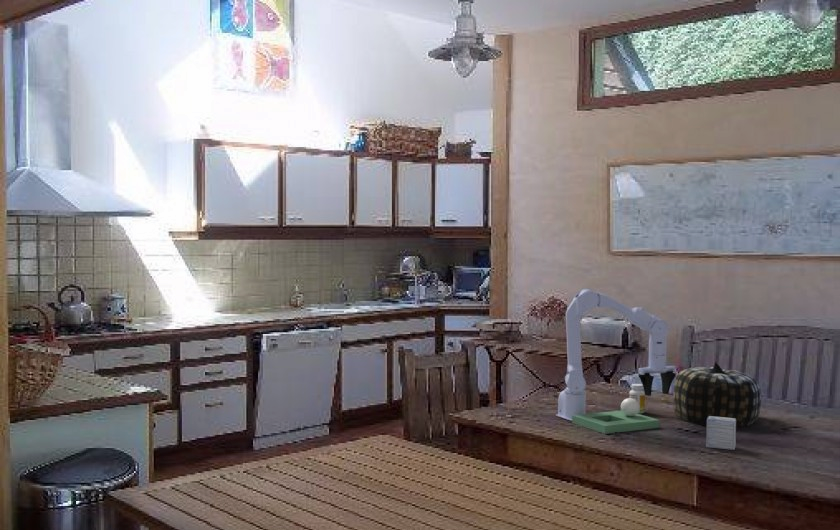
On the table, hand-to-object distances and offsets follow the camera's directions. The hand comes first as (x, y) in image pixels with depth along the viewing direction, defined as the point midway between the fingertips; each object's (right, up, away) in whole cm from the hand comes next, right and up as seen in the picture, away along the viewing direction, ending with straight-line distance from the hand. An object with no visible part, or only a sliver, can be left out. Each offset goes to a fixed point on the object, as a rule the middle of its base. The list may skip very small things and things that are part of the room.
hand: (656, 394), depth 287 cm
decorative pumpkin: (+22, -9, +5) cm, 24 cm away
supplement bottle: (-3, -9, +15) cm, 17 cm away
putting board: (-16, -9, -7) cm, 19 cm away
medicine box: (+9, -11, -35) cm, 38 cm away
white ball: (-10, -3, -5) cm, 12 cm away
